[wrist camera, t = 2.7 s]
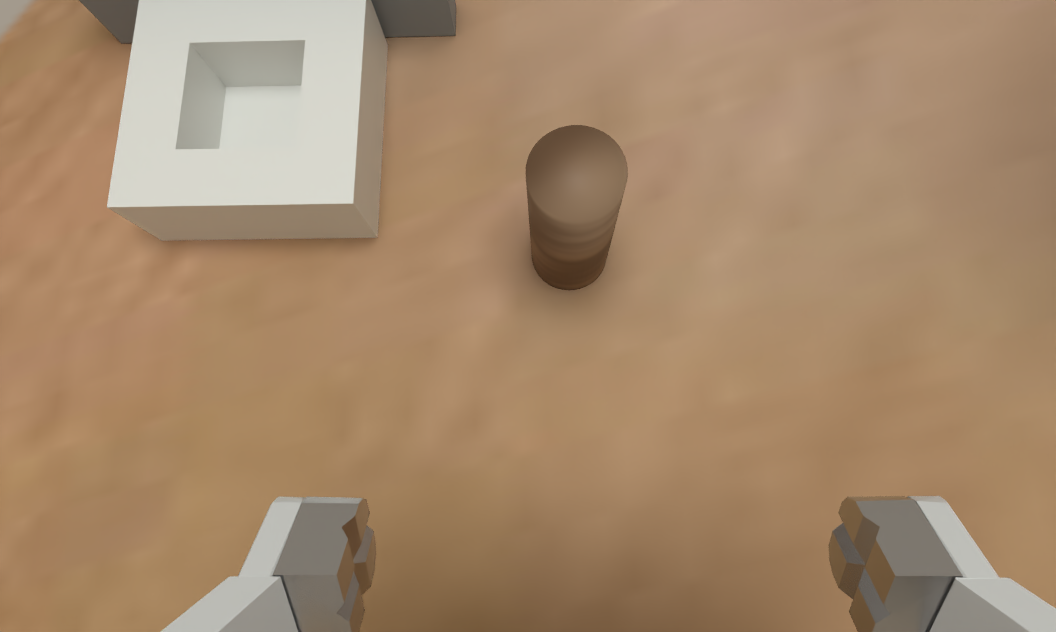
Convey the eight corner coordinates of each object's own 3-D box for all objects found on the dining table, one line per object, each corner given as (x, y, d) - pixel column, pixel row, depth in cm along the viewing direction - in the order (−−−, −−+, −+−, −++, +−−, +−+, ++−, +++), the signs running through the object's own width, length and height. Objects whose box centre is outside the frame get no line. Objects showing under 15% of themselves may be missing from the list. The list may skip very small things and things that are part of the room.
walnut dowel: (621, 257, 36) (648, 175, 26) (565, 304, 35) (571, 239, 26) (572, 205, 37) (581, 106, 27) (516, 250, 36) (504, 166, 26)
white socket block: (378, 239, 37) (353, 203, 32) (164, 242, 37) (106, 207, 32) (389, 48, 40) (366, -12, 35) (189, 52, 40) (140, -7, 35)
